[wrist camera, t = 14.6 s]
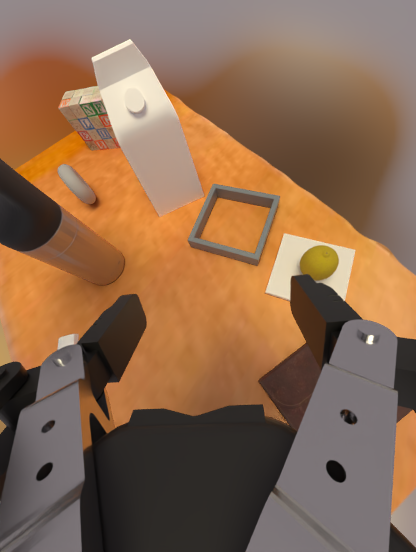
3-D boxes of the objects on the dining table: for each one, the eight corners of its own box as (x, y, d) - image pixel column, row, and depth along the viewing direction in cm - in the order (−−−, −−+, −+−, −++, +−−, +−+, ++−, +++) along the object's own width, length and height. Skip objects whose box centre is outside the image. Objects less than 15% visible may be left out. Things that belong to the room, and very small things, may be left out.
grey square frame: (191, 246, 45) (187, 240, 42) (215, 193, 49) (213, 183, 46) (257, 265, 41) (258, 259, 38) (278, 205, 45) (280, 196, 42)
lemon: (313, 253, 39) (330, 230, 32) (333, 276, 37) (356, 258, 30) (288, 267, 39) (299, 248, 31) (307, 291, 37) (323, 277, 29)
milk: (188, 165, 53) (141, 14, 29) (204, 196, 49) (165, 50, 25) (147, 184, 54) (66, 51, 30) (159, 217, 49) (77, 92, 25)
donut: (104, 206, 54) (75, 176, 44) (94, 213, 53) (62, 185, 44) (90, 184, 57) (60, 153, 48) (80, 192, 57) (47, 161, 48)
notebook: (427, 391, 31) (438, 393, 29) (325, 475, 30) (331, 484, 28) (346, 311, 36) (351, 309, 34) (258, 379, 35) (258, 381, 33)
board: (265, 293, 39) (265, 292, 38) (283, 235, 42) (284, 233, 41) (338, 317, 36) (341, 316, 35) (352, 252, 39) (355, 249, 38)
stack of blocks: (160, 128, 60) (140, 77, 49) (156, 144, 58) (135, 94, 47) (96, 136, 64) (64, 90, 53) (91, 151, 62) (56, 107, 51)
